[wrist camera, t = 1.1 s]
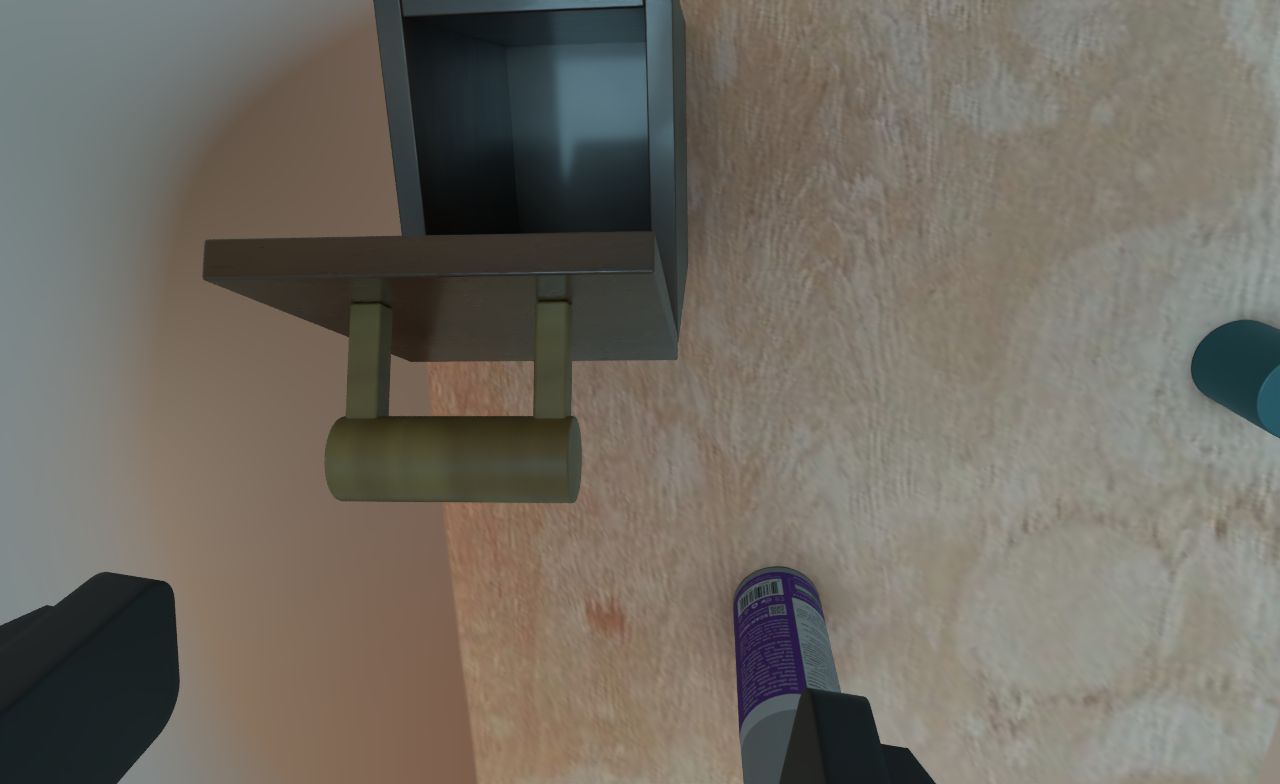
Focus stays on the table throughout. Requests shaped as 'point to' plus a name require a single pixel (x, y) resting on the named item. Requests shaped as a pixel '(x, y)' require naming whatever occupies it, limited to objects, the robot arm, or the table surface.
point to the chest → (540, 119)
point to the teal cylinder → (1242, 371)
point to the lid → (461, 345)
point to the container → (776, 664)
